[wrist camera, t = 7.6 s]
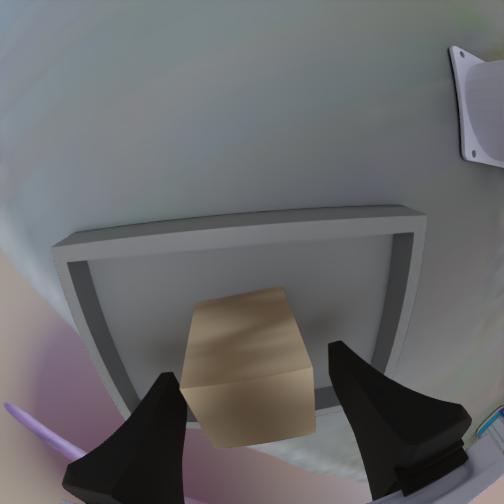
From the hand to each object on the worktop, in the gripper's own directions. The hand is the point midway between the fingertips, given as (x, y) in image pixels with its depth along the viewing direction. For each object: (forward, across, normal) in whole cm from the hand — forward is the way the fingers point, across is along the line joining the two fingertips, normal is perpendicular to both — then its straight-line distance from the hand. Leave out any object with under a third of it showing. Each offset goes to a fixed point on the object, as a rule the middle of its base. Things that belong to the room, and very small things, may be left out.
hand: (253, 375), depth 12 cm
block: (+3, 0, 0) cm, 3 cm away
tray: (+4, 0, 0) cm, 4 cm away
